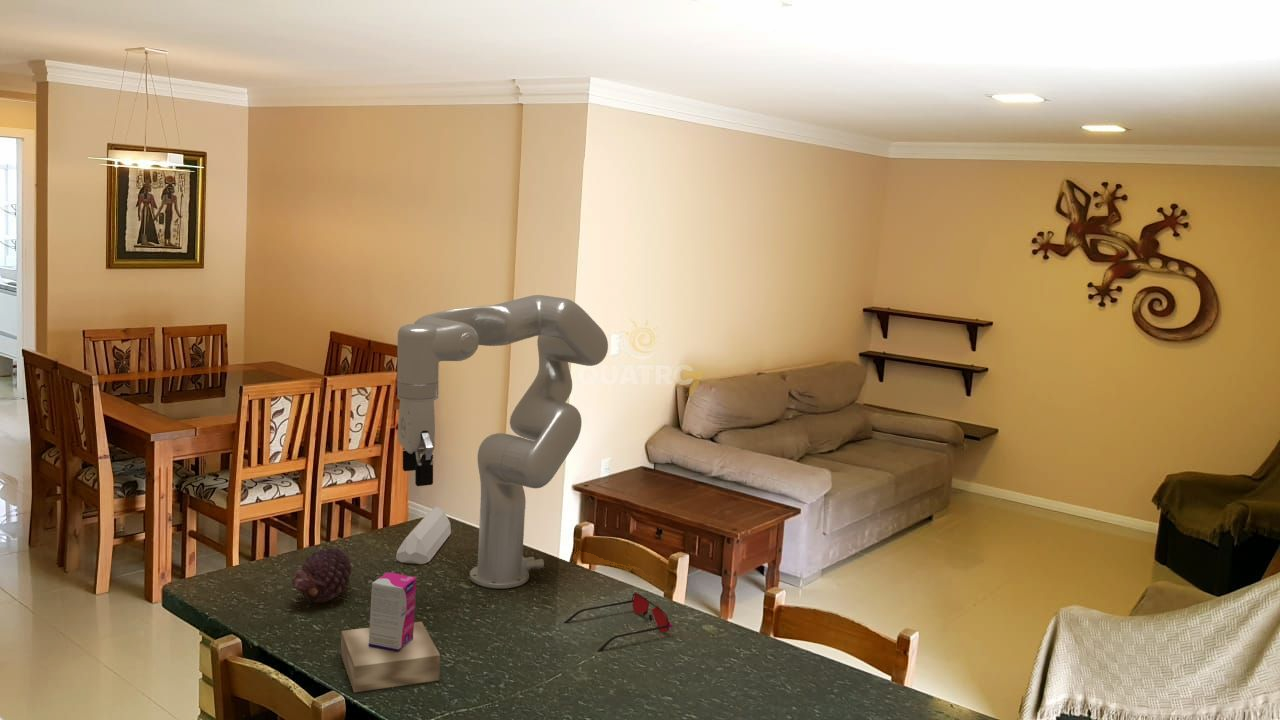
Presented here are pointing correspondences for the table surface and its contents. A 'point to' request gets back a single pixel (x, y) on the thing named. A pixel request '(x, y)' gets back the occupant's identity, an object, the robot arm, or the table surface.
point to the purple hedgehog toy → (323, 575)
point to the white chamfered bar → (425, 538)
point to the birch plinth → (389, 660)
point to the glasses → (639, 607)
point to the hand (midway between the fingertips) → (417, 477)
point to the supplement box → (392, 611)
